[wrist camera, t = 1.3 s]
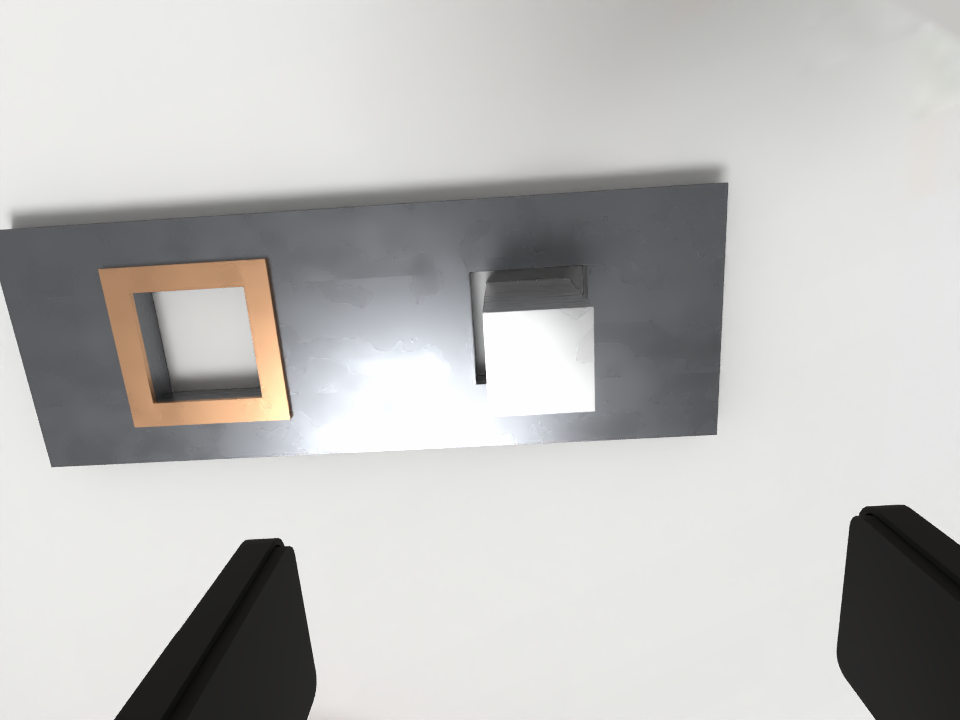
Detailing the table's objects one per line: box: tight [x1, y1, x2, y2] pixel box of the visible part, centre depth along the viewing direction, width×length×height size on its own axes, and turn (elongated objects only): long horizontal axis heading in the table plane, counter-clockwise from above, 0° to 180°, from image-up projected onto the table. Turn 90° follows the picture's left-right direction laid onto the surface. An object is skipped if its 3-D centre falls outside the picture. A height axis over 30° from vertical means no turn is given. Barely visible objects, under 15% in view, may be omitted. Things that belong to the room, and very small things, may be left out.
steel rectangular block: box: [483, 278, 595, 417], centre depth 26 cm, size 4×4×8 cm
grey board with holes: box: [0, 183, 728, 467], centre depth 29 cm, size 34×12×2 cm, turn 94°
